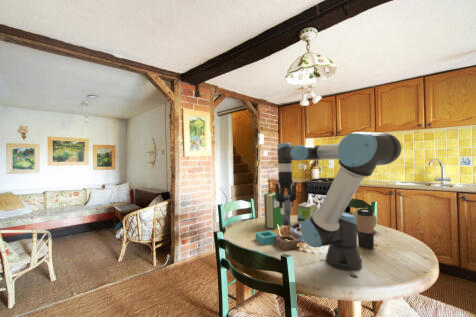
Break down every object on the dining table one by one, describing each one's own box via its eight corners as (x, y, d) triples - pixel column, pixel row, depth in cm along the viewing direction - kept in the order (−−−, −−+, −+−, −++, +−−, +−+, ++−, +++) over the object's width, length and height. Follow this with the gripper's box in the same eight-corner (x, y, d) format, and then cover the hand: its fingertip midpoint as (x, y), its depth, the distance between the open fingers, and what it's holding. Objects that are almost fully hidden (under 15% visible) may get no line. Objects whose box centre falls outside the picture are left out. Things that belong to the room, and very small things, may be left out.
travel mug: (376, 250, 117) (375, 211, 117) (360, 249, 118) (359, 211, 118) (370, 244, 124) (369, 208, 124) (356, 243, 126) (355, 208, 126)
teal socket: (278, 244, 128) (278, 235, 128) (262, 246, 125) (262, 238, 125) (270, 238, 137) (270, 230, 137) (255, 240, 134) (255, 232, 134)
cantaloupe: (348, 230, 149) (347, 207, 149) (356, 225, 158) (355, 204, 158) (372, 235, 138) (372, 211, 138) (380, 230, 147) (379, 207, 147)
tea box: (310, 227, 157) (310, 206, 157) (297, 225, 163) (296, 205, 163) (317, 222, 169) (316, 202, 169) (304, 220, 175) (303, 201, 175)
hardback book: (274, 230, 154) (273, 195, 154) (265, 228, 158) (264, 194, 158) (285, 223, 168) (284, 191, 168) (276, 222, 172) (275, 191, 172)
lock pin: (293, 225, 121) (292, 195, 121) (285, 226, 119) (284, 196, 119) (288, 222, 126) (287, 194, 126) (280, 223, 124) (279, 195, 124)
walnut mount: (300, 249, 120) (299, 240, 120) (283, 252, 116) (283, 243, 116) (290, 243, 129) (289, 234, 129) (274, 245, 126) (274, 236, 126)
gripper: (294, 170, 129) (295, 210, 129) (268, 171, 124) (269, 213, 123) (302, 170, 122) (303, 213, 122) (274, 172, 116) (275, 216, 116)
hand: (286, 213), depth 123 cm, fingers closed on lock pin, 4 cm apart
